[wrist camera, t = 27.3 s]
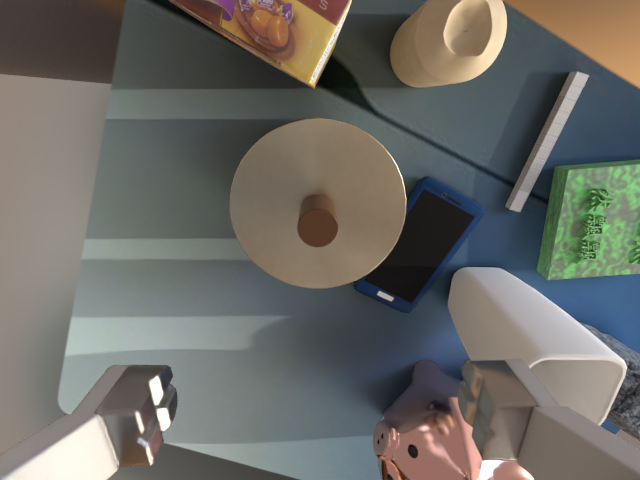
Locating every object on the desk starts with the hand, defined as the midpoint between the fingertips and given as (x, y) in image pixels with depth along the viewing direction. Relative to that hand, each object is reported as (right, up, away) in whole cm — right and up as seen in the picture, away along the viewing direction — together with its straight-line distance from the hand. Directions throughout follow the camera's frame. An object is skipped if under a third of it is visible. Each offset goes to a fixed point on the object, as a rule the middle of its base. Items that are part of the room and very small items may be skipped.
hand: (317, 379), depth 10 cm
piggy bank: (+14, -16, +34) cm, 40 cm away
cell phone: (+10, +3, +26) cm, 28 cm away
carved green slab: (+29, +6, +25) cm, 39 cm away
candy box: (-3, +21, +19) cm, 28 cm away
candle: (+9, +20, +19) cm, 29 cm away
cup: (+17, -1, +28) cm, 33 cm away
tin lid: (0, +6, +15) cm, 17 cm away
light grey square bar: (+21, +13, +22) cm, 33 cm away
